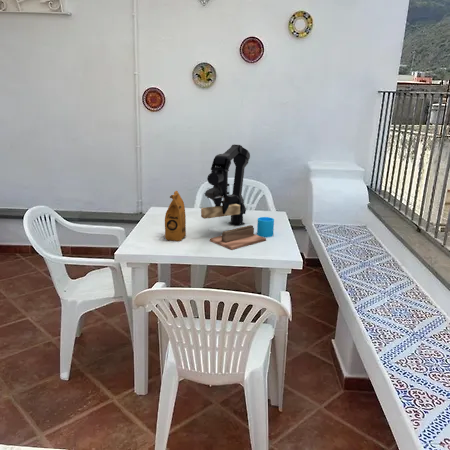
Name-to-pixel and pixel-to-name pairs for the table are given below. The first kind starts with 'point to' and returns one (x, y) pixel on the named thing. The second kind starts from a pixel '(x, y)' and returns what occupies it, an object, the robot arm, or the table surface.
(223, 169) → the robot arm
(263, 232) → the mug
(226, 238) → the fulcrum stand
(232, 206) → the oak bar
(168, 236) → the coffee package
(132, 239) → the table surface
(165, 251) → the table surface
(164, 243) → the table surface
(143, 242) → the table surface
